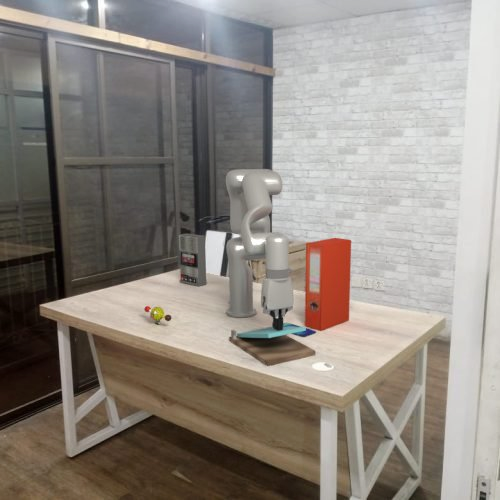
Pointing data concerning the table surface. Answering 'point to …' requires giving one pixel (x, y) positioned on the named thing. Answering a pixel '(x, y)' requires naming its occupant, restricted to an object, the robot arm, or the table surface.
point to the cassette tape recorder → (192, 259)
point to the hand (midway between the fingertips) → (278, 329)
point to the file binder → (327, 283)
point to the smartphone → (302, 333)
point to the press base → (272, 348)
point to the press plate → (270, 332)
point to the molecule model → (157, 314)
